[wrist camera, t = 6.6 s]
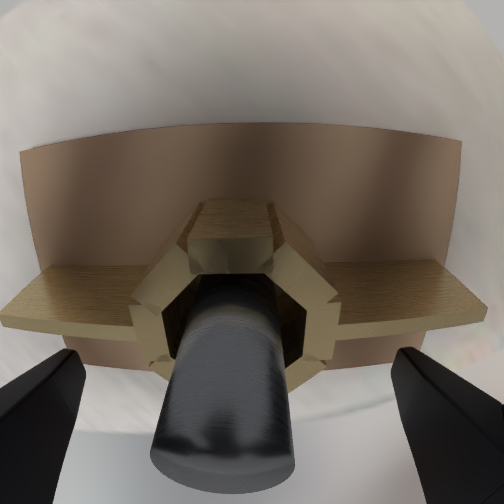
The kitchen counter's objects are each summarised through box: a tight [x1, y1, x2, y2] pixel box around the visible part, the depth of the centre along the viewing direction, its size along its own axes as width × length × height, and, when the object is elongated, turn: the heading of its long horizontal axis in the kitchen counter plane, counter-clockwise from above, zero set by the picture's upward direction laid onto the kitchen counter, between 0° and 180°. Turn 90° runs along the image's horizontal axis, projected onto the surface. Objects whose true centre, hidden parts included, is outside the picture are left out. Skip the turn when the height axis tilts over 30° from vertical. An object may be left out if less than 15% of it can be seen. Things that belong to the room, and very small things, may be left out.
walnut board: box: [20, 123, 462, 371], centre depth 14 cm, size 20×12×1 cm, turn 91°
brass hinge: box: [0, 197, 488, 393], centre depth 11 cm, size 19×6×4 cm, turn 91°
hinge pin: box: [150, 273, 295, 494], centre depth 9 cm, size 3×3×9 cm
